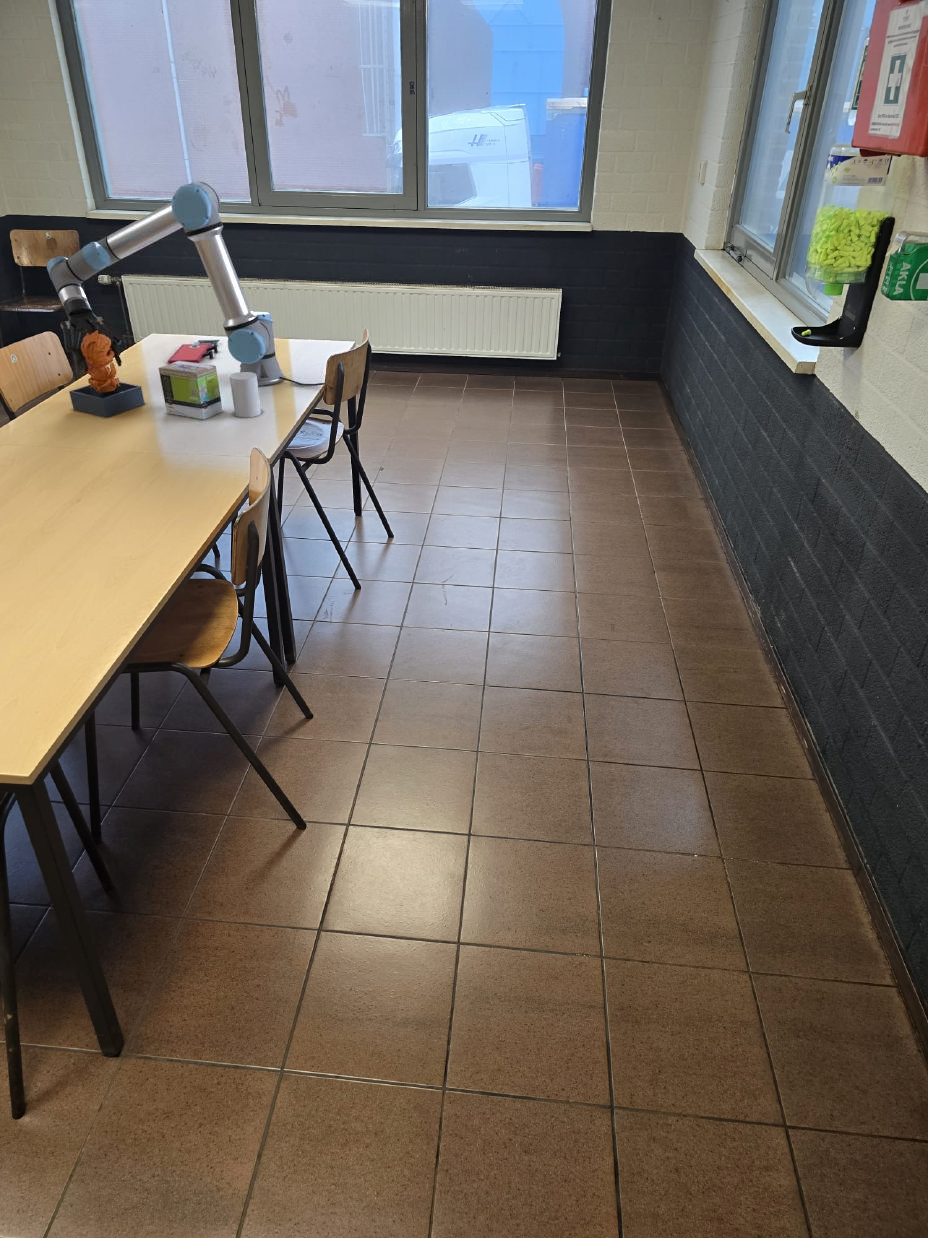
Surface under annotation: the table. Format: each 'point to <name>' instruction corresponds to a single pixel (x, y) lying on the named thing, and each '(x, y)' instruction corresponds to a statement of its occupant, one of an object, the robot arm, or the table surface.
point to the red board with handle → (194, 351)
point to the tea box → (191, 389)
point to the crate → (107, 399)
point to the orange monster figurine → (99, 362)
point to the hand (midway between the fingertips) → (103, 366)
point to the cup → (245, 394)
